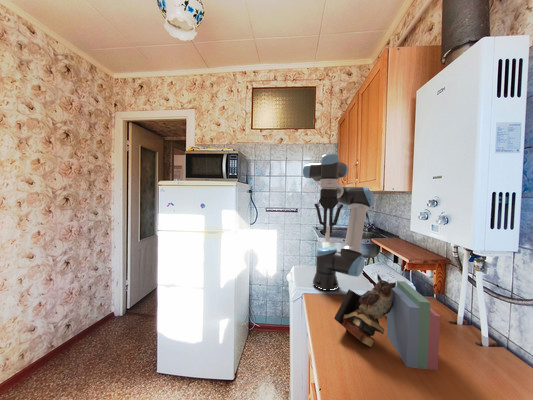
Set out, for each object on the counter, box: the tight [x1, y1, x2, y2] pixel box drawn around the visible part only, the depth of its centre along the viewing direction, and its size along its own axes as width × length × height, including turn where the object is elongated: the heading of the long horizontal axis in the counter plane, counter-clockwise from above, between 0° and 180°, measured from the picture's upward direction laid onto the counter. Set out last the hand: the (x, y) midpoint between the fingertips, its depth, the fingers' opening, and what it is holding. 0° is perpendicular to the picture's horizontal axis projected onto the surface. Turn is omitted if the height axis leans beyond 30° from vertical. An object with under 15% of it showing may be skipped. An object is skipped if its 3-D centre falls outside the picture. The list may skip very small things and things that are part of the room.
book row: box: [386, 280, 441, 371], centre depth 75 cm, size 16×9×22 cm, turn 171°
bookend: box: [333, 273, 397, 348], centre depth 82 cm, size 15×11×25 cm
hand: (327, 239), depth 97 cm, fingers closed
